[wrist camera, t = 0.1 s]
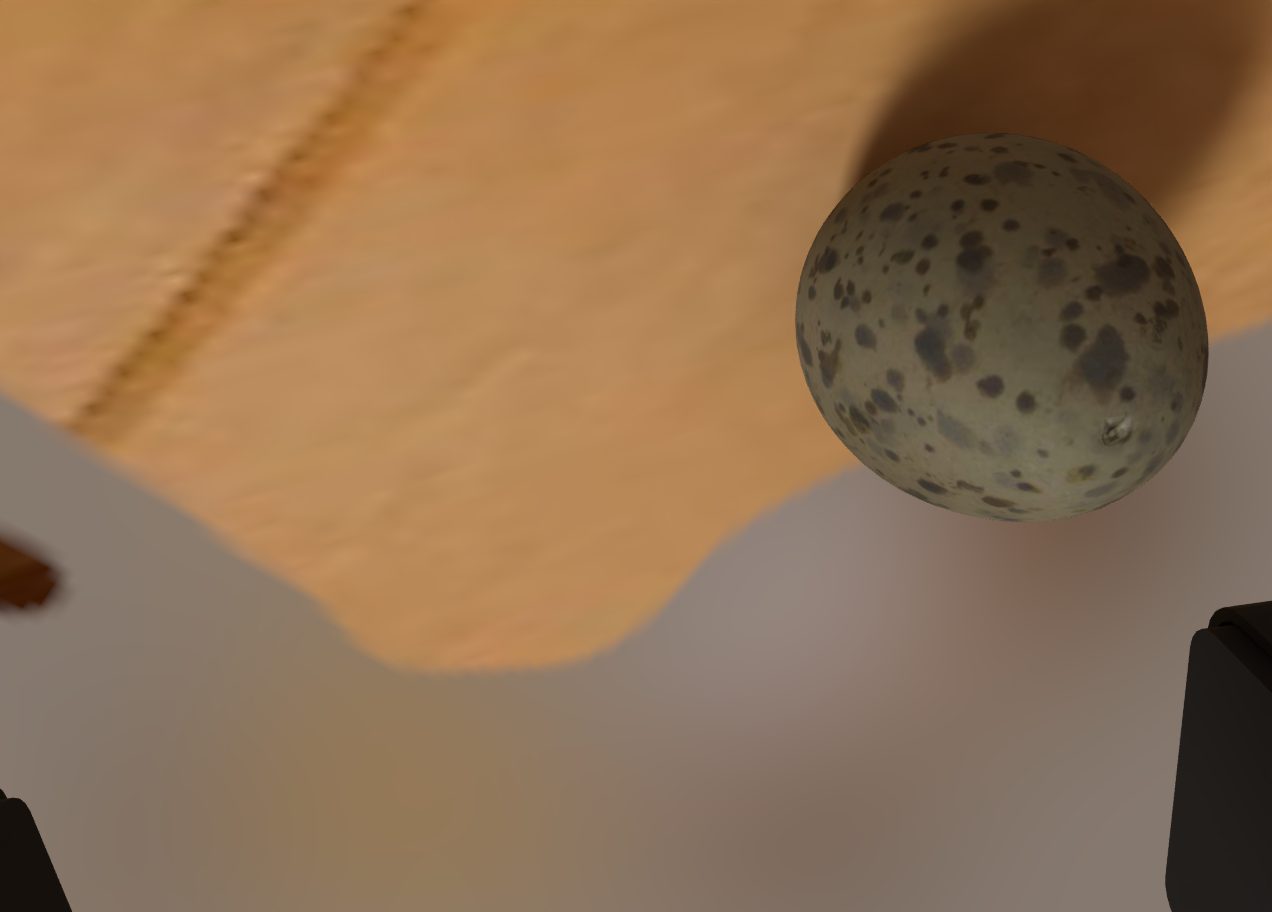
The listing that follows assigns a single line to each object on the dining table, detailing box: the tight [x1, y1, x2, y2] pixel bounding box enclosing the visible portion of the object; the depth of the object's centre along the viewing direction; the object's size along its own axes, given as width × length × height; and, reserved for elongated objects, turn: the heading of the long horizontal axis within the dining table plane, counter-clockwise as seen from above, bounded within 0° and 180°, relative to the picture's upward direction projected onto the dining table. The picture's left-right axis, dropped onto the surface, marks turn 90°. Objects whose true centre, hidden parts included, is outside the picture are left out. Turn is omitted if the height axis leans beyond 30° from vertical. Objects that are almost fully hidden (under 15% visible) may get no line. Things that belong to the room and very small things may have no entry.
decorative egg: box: [795, 133, 1209, 522], centre depth 33 cm, size 11×11×15 cm
